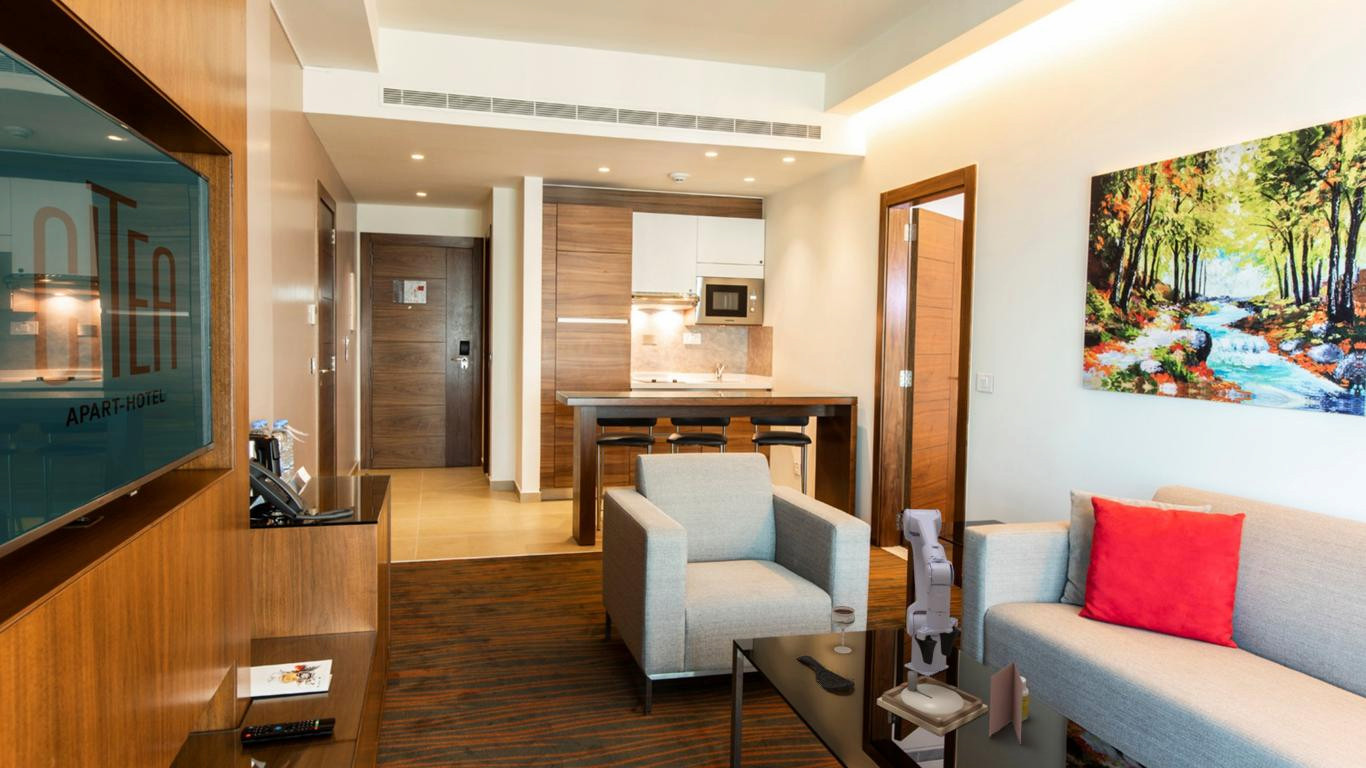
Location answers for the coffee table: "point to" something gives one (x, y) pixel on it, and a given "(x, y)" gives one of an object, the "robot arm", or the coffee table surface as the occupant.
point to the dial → (930, 698)
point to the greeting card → (1006, 699)
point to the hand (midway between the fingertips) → (936, 659)
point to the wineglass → (843, 623)
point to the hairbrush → (828, 676)
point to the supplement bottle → (1025, 699)
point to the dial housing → (934, 724)
